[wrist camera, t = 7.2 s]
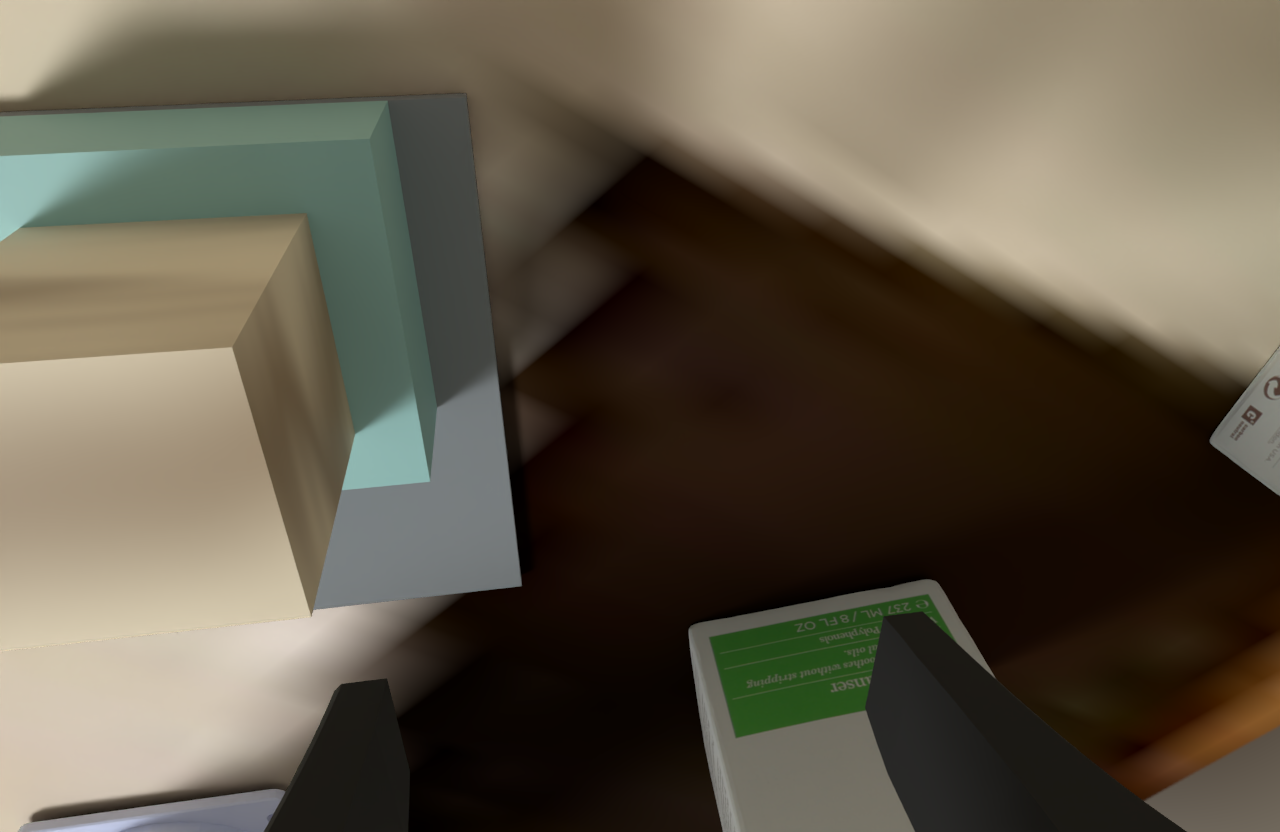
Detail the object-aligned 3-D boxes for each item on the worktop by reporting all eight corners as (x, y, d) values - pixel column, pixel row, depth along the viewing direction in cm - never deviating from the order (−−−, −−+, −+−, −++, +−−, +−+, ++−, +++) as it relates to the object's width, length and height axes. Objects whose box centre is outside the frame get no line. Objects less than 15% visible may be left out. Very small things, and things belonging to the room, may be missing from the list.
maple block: (355, 434, 17) (311, 617, 12) (112, 455, 16) (-19, 653, 12) (306, 212, 14) (231, 346, 10) (19, 227, 14) (-186, 376, 9)
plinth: (437, 407, 20) (430, 481, 18) (124, 434, 19) (70, 516, 17) (387, 100, 16) (369, 138, 14) (-3, 116, 15) (-98, 160, 13)
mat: (521, 576, 24) (521, 585, 23) (-101, 646, 22) (-110, 657, 21) (466, 93, 17) (465, 97, 16) (-453, 130, 15) (-475, 136, 14)
